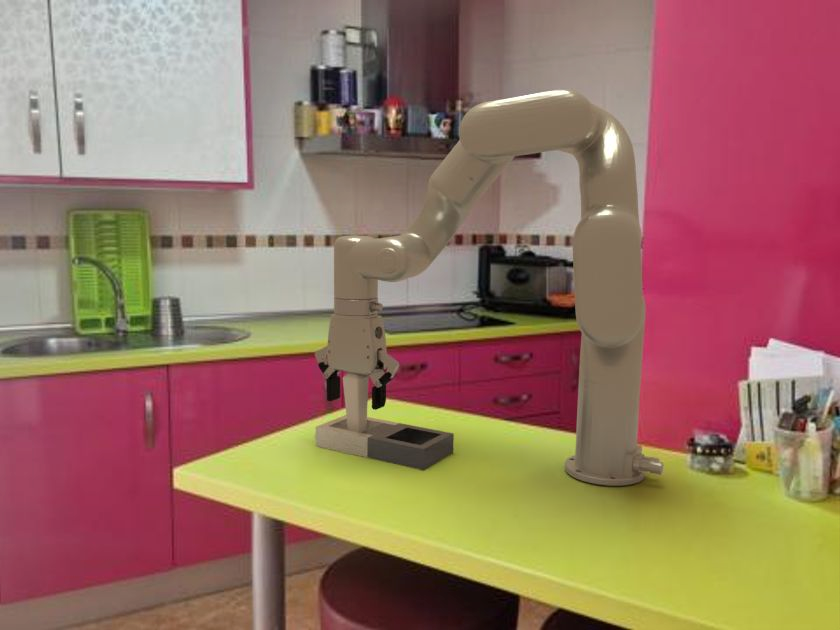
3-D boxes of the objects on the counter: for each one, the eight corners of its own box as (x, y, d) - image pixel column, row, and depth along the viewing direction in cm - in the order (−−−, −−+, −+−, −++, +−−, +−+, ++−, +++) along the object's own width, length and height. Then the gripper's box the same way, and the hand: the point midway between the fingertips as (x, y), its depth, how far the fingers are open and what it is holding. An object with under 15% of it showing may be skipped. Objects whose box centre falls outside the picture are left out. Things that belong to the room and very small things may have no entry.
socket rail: (453, 453, 133) (453, 433, 132) (423, 470, 124) (423, 449, 124) (349, 431, 144) (349, 413, 143) (315, 446, 135) (315, 426, 135)
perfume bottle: (356, 437, 140) (353, 356, 138) (374, 442, 137) (371, 359, 135) (338, 444, 137) (335, 361, 134) (356, 449, 134) (353, 364, 132)
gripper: (409, 309, 132) (408, 406, 135) (329, 301, 141) (329, 392, 143) (385, 314, 126) (384, 416, 128) (302, 305, 135) (303, 401, 137)
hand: (355, 403), depth 136 cm, fingers open, 9 cm apart
